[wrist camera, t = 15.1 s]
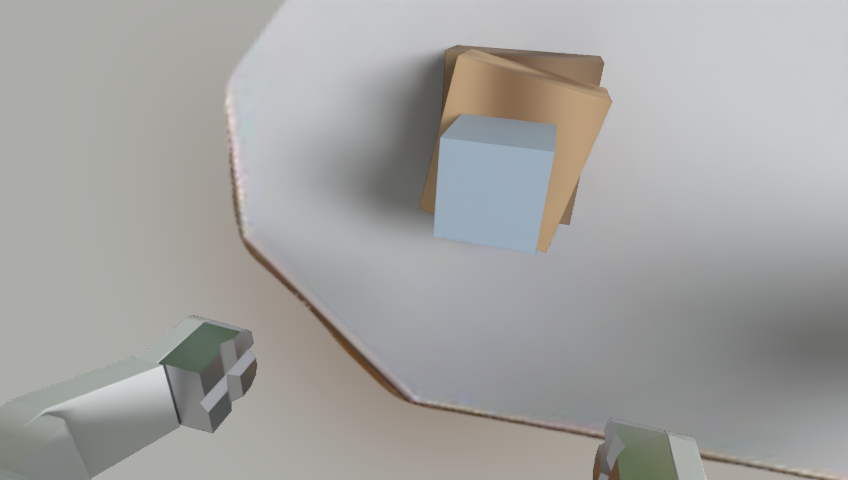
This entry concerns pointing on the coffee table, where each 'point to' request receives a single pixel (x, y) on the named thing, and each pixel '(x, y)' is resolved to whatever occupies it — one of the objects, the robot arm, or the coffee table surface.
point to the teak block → (528, 101)
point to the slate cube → (493, 181)
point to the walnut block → (557, 63)
